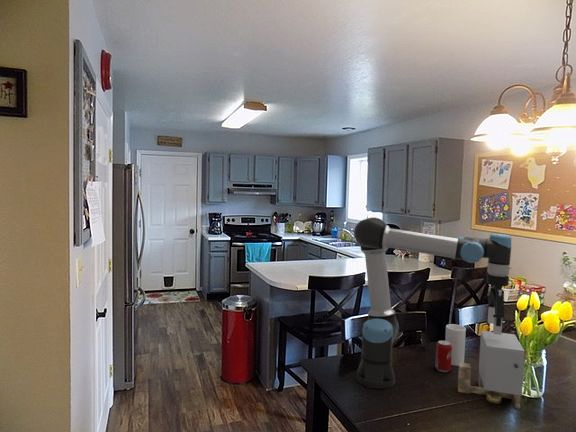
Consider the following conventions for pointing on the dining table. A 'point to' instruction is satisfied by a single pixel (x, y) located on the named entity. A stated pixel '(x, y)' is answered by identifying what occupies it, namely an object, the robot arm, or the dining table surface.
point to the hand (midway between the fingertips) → (494, 328)
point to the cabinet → (501, 363)
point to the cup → (456, 342)
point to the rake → (465, 387)
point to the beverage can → (443, 356)
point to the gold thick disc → (493, 397)
